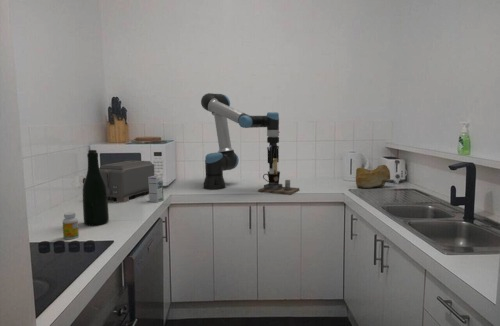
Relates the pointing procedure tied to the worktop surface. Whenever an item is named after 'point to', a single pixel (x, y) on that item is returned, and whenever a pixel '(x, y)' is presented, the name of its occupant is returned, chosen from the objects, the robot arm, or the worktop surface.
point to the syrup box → (155, 188)
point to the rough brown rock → (372, 177)
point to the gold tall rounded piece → (275, 165)
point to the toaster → (126, 178)
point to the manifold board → (279, 188)
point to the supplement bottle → (70, 226)
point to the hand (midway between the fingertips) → (273, 172)
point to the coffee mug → (273, 177)
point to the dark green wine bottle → (94, 193)
